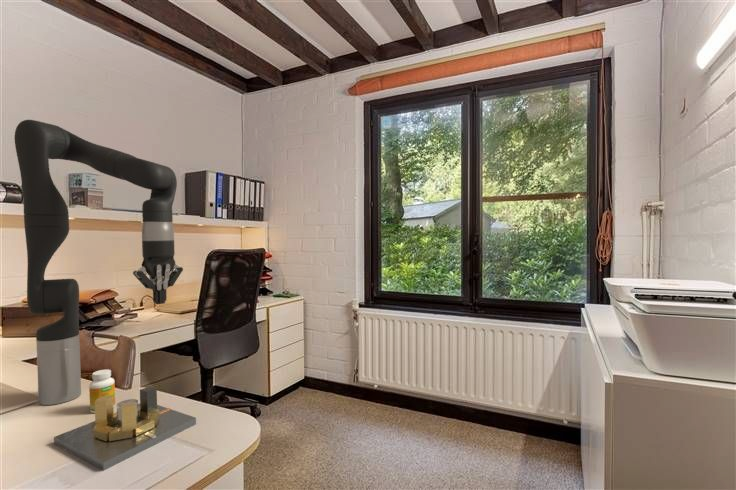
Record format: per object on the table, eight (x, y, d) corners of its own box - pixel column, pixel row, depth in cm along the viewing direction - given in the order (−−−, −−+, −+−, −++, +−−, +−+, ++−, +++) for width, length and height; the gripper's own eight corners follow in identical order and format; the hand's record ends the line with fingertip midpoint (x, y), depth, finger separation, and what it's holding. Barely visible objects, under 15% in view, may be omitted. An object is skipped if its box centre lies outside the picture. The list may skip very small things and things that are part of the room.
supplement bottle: (102, 414, 95) (101, 376, 95) (84, 412, 96) (83, 375, 96) (120, 405, 100) (119, 368, 100) (103, 403, 101) (102, 367, 101)
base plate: (54, 443, 82) (52, 411, 81) (146, 406, 99) (145, 380, 99) (103, 470, 72) (102, 434, 72) (196, 423, 89) (195, 394, 89)
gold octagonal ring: (117, 445, 78) (116, 413, 77) (83, 433, 83) (82, 403, 82) (170, 418, 89) (170, 391, 88) (137, 409, 94) (136, 383, 94)
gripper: (141, 239, 93) (143, 309, 94) (189, 238, 105) (191, 300, 105) (124, 239, 97) (126, 306, 97) (172, 238, 108) (174, 298, 109)
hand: (160, 303), depth 101 cm, fingers closed
